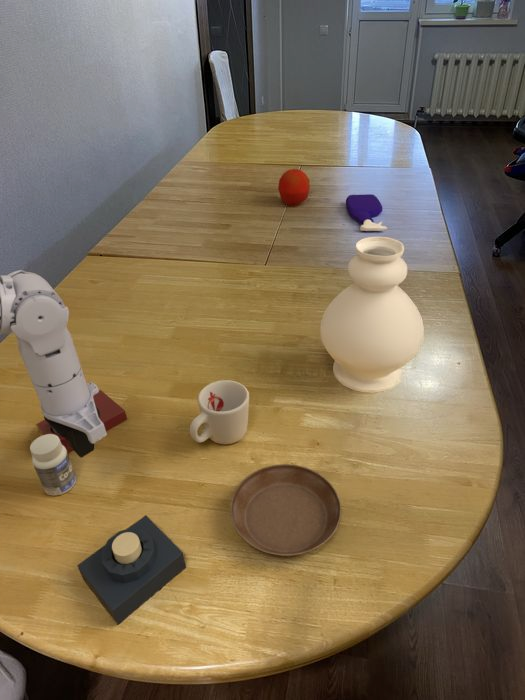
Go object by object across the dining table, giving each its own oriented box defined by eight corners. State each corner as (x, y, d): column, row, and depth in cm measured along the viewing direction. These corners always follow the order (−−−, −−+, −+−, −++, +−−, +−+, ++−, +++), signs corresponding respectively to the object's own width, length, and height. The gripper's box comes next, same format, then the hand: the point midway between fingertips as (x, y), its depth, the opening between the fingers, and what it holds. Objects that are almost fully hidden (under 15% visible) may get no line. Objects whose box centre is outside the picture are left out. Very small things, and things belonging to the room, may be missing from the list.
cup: (212, 469, 78) (206, 431, 73) (179, 443, 83) (172, 406, 78) (261, 431, 84) (259, 394, 79) (228, 409, 89) (224, 373, 84)
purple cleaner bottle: (344, 194, 166) (353, 225, 146) (378, 193, 165) (392, 224, 146) (343, 203, 167) (353, 235, 148) (377, 202, 167) (391, 233, 147)
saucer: (278, 460, 79) (278, 447, 77) (361, 511, 71) (362, 499, 69) (209, 523, 70) (207, 511, 69) (294, 591, 62) (294, 578, 60)
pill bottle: (71, 496, 75) (55, 456, 70) (39, 496, 75) (21, 456, 70) (81, 471, 79) (66, 431, 74) (50, 471, 79) (34, 431, 74)
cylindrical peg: (124, 569, 60) (121, 561, 59) (109, 552, 62) (106, 544, 61) (147, 551, 62) (144, 543, 61) (132, 535, 64) (129, 527, 63)
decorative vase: (339, 335, 106) (345, 218, 91) (426, 357, 99) (449, 233, 84) (303, 385, 93) (305, 259, 79) (401, 414, 86) (422, 281, 72)
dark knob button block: (117, 625, 59) (108, 602, 57) (83, 580, 64) (73, 556, 61) (186, 567, 65) (181, 543, 62) (149, 529, 70) (143, 506, 67)
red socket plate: (61, 464, 80) (54, 446, 78) (34, 435, 85) (27, 417, 83) (131, 422, 87) (127, 404, 85) (102, 398, 92) (97, 380, 90)
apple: (312, 207, 166) (313, 171, 159) (281, 210, 165) (281, 173, 158) (306, 197, 174) (306, 162, 167) (276, 199, 173) (275, 164, 166)
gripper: (117, 382, 59) (140, 462, 67) (59, 334, 68) (85, 410, 76) (60, 413, 55) (92, 495, 63) (6, 358, 64) (39, 436, 72)
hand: (85, 451), depth 69 cm, fingers closed
